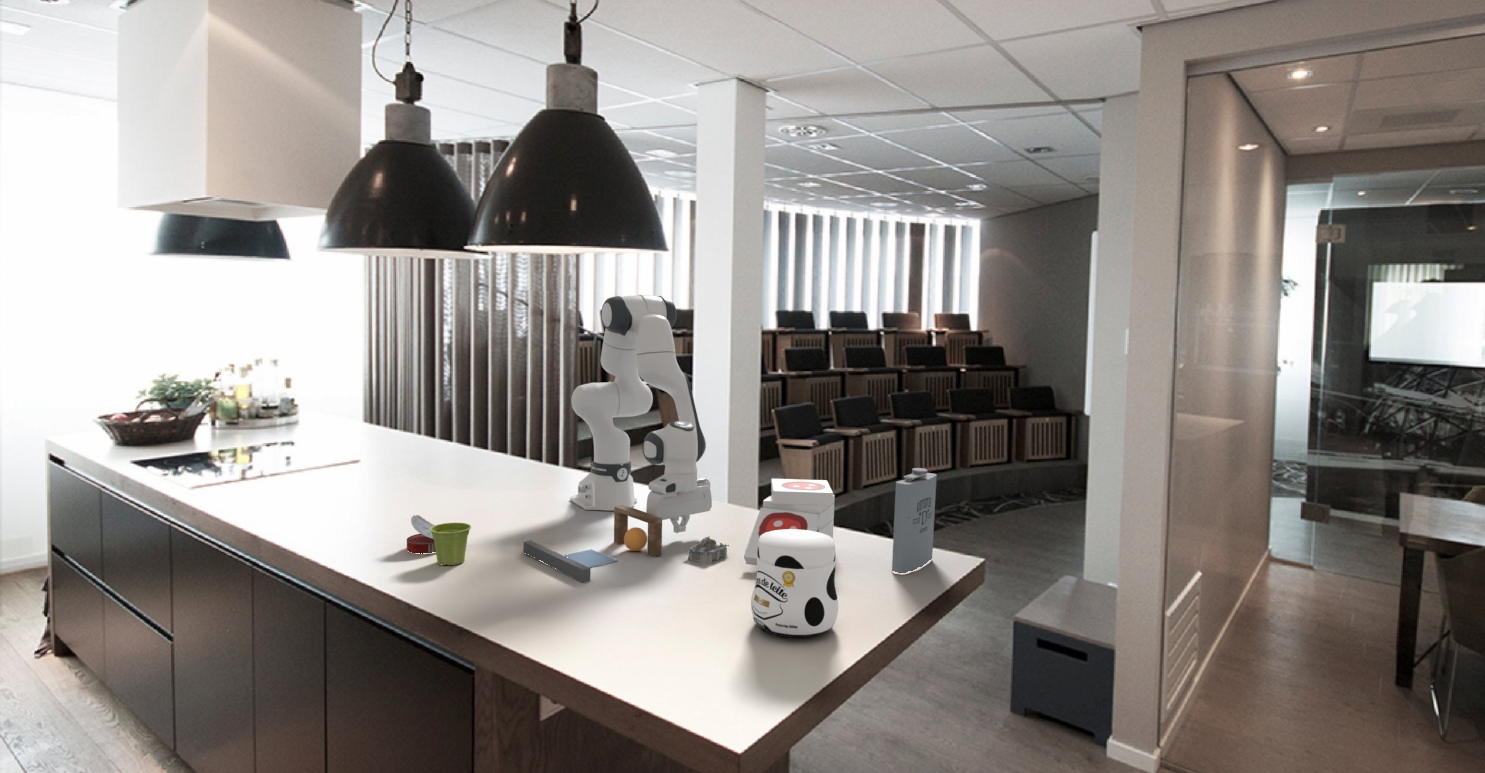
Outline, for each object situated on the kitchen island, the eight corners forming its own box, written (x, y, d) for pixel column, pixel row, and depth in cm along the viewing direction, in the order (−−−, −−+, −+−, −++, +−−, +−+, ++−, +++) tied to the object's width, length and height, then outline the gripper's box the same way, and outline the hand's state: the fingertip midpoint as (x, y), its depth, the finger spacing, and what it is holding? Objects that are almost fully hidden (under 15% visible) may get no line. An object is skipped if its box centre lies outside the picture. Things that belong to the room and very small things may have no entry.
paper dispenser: (735, 571, 197) (738, 497, 195) (775, 539, 225) (777, 474, 223) (812, 582, 190) (815, 506, 188) (843, 548, 218) (846, 482, 216)
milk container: (737, 635, 158) (740, 545, 156) (767, 606, 174) (769, 523, 172) (824, 651, 152) (828, 557, 150) (846, 619, 168) (850, 534, 166)
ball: (616, 545, 210) (623, 523, 211) (634, 549, 214) (641, 527, 215) (629, 550, 206) (636, 527, 207) (647, 555, 210) (654, 532, 210)
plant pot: (422, 561, 197) (422, 526, 196) (459, 553, 203) (459, 519, 203) (441, 571, 190) (441, 534, 189) (478, 562, 197) (478, 527, 196)
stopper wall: (523, 553, 205) (523, 541, 205) (530, 551, 207) (530, 540, 207) (582, 582, 185) (582, 569, 185) (590, 580, 186) (590, 568, 186)
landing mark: (550, 558, 202) (550, 557, 202) (591, 549, 210) (591, 549, 210) (575, 571, 193) (575, 570, 193) (618, 561, 201) (618, 560, 201)
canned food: (427, 560, 212) (440, 523, 216) (450, 564, 206) (463, 526, 210) (389, 549, 204) (404, 511, 207) (413, 553, 198) (427, 513, 202)
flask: (906, 577, 196) (912, 474, 193) (889, 572, 199) (894, 471, 196) (937, 560, 210) (942, 464, 207) (920, 556, 212) (925, 462, 210)
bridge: (652, 557, 205) (652, 519, 204) (613, 542, 217) (614, 506, 216) (661, 555, 207) (662, 517, 206) (623, 540, 219) (623, 504, 219)
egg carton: (708, 550, 214) (709, 535, 213) (731, 556, 209) (732, 540, 209) (682, 559, 205) (683, 543, 205) (706, 565, 201) (706, 549, 200)
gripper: (702, 475, 230) (701, 523, 231) (643, 484, 216) (642, 535, 217) (717, 479, 225) (716, 528, 226) (657, 488, 211) (656, 540, 212)
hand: (679, 531), depth 222 cm, fingers closed
